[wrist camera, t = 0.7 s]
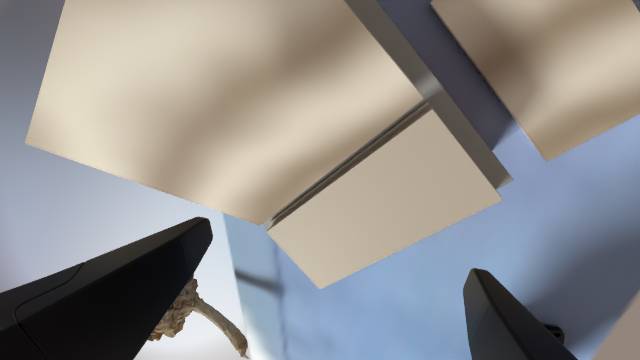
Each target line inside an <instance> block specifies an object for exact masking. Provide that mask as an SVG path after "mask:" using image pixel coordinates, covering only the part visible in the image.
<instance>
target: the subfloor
mask: <svg viewBox="0 0 640 360" xmlns="http://www.w3.org/2000/svg"><path fill="white" fill-rule="evenodd" d="M345 1H346V2H347V4H348V5H349V6H350V7H351V8H352V10H353V11H354V12H355V13H356V15H357V16H358V17H359V18H360V19H361V21H362V22H363V23H364V24H365V26H366V27H367V28H368V29H369V30H370V32H371V33H372V34H373V35H374V37H375V38H376V39H377V40H378V41H379V43H380V44H381V45H382V46H383V47H384V49H385V50H386V51H387V52H388V54H389V55H390V56H391V57H392V58H393V60H394V61H395V62H396V63H397V65H398V66H399V67H400V68H401V69H402V71H403V72H404V73H405V74H406V76H407V77H408V78H409V79H410V80H411V82H412V83H413V84H414V85H415V87H416V88H417V89H418V91H419V92H420V94H421V95H422V96H423V98H424V99H423V100H421V101H420V102H419V103H418V104H416V105H415V106H414V107H412V108H411V109H410V110H408V111H407V112H406V113H405V114H403V115H402V116H401V117H399V118H398V119H397V120H396V121H394V122H393V123H392V124H390V125H389V126H388V127H387V128H385V129H384V130H383V131H381V132H380V133H379V134H377V135H376V136H375V137H374V138H372V139H371V140H370V141H368V142H367V143H366V144H365V145H363V146H362V147H361V148H359V149H358V150H357V151H355V152H354V153H353V154H352V155H350V156H349V157H348V158H346V159H345V160H344V161H343V162H341V163H340V164H339V165H337V166H336V167H335V168H334V169H332V170H331V171H330V172H328V173H327V174H326V175H324V176H323V177H322V178H321V179H319V180H318V181H317V182H315V183H314V184H313V185H312V186H310V187H309V188H308V189H306V190H305V191H304V192H303V193H301V194H300V195H299V196H297V197H296V198H295V199H293V200H292V201H291V202H290V203H288V204H287V205H286V206H284V207H283V208H282V209H281V210H279V211H278V212H277V213H275V214H274V215H273V216H271V217H270V218H269V219H268V220H266V221H265V222H264V223H262V224H263V225H264V226H265V227H266V228H267V229H268V231H267V233H268V234H269V235H270V236H271V237H272V238H273V239H274V240H275V242H276V243H277V244H278V245H279V246H280V247H281V248H282V249H283V250H284V251H285V252H286V253H287V255H288V256H289V257H290V258H291V259H292V260H293V261H294V262H295V263H296V264H297V265H298V266H299V268H300V269H301V270H302V271H303V272H304V273H305V274H306V275H307V276H308V277H309V278H310V279H311V281H312V282H313V283H314V284H315V285H316V286H317V287H318V288H319V289H322V288H324V287H326V286H328V285H330V284H332V283H334V282H336V281H338V280H340V279H342V278H344V277H347V276H349V275H351V274H353V273H355V272H357V271H359V270H361V269H363V268H365V267H367V266H369V265H371V264H373V263H375V262H377V261H379V260H381V259H383V258H385V257H387V256H389V255H391V254H393V253H395V252H397V251H399V250H402V249H404V248H406V247H408V246H410V245H412V244H414V243H416V242H418V241H420V240H422V239H424V238H426V237H428V236H430V235H432V234H434V233H436V232H438V231H440V230H442V229H444V228H446V227H448V226H450V225H452V224H455V223H457V222H459V221H461V220H463V219H465V218H467V217H469V216H471V215H473V214H475V213H477V212H479V211H481V210H483V209H485V208H487V207H489V206H491V205H493V204H495V203H497V202H499V201H501V200H503V199H502V198H501V196H500V195H499V193H498V192H497V190H496V189H498V188H500V187H502V186H504V185H506V184H508V183H510V182H512V181H514V180H513V178H512V177H511V176H510V174H509V173H508V172H507V170H506V169H505V168H504V166H503V165H502V164H501V163H500V161H499V160H498V159H497V157H496V156H495V155H494V153H493V152H492V151H491V149H490V148H489V147H488V146H487V144H486V143H485V142H484V140H483V139H482V138H481V136H480V135H479V134H478V132H477V131H476V130H475V128H474V127H473V126H472V125H471V123H470V122H469V121H468V119H467V118H466V117H465V115H464V114H463V113H462V111H461V110H460V109H459V108H458V106H457V105H456V104H455V102H454V101H453V100H452V98H451V97H450V96H449V94H448V93H447V92H446V91H445V89H444V88H443V87H442V85H441V84H440V83H439V81H438V80H437V79H436V77H435V76H434V75H433V74H432V72H431V71H430V70H429V68H428V67H427V66H426V64H425V63H424V62H423V60H422V59H421V58H420V57H419V55H418V54H417V53H416V51H415V50H414V49H413V47H412V46H411V45H410V43H409V42H408V41H407V39H406V38H405V37H404V36H403V34H402V33H401V32H400V30H399V29H398V28H397V26H396V25H395V24H394V22H393V21H392V20H391V19H390V17H389V16H388V15H387V13H386V12H385V11H384V9H383V8H382V7H381V5H380V4H379V3H378V2H377V0H345Z"/></svg>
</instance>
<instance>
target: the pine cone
mask: <svg viewBox="0 0 640 360" xmlns="http://www.w3.org/2000/svg"><path fill="white" fill-rule="evenodd" d="M193 276H194V274H193V275H192V277H191V278H190V280H189V281H188V283H187V284H186V286H185V287H184V288H183V290H182V291H181V293H180V294H179V296H178V297H177V298H176V300H175V301H174V303H173V304H172V306H171V307H170V308H169V310H168V311H167V313H166V314H165V315H164V317H163V318H162V320H161V321H160V323H159V324H158V325H157V327H156V328H155V330H154V331H153V332H152V334H151V335H150V337H149V338H148V340H150V341H153V340H154V339H156V340H157V341H158V340H160V338H161V336H162V334H165V335H166V336H168V337H172V338H173V337H174V336H175V335H176V334H177V333H178V332H180V331H181V330H182V328H183V324H184V323H185V317H187V316H188V315H190V313H191V312H192V311H195V312H197V313H200V314H202V315H204V316H205V317H206V318H208V319H209V320H210V321H212V322H213V323H214V324H215V325H216V326H218V327H219V328H220V329H221V330H222V331H223V332H224V334H225V335H226V336H227V337H228V338H229V340H230V341H231V343H232V344H233V346H234V347H235V348H236V350H238V351H239V353H240V356H241V357H245V358H247V359H248V357H247V356H246V355H245V353H246V349H247V348H248V344H247V340H246V338H245V336H244V335H243V334H242V333H241V332H240V330H239V329H238V328H236V326H235V325H234V324H233V323H232V322H230V321H229V320H228V319H227V318H225V317H224V316H223V315H222V314H221V313H220V312H219V311H217V310H215V309H214V308H213V307H212V306H210V305H209V304H207V303H205V302H204V301H203V299H200V298H199V296H198V293H197V292H196V288H197V287H198V285H197V280H196V279H193Z"/></svg>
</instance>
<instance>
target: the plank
mask: <svg viewBox="0 0 640 360" xmlns="http://www.w3.org/2000/svg"><path fill="white" fill-rule="evenodd" d="M430 6H431V7H432V9H433V10H434V11H435V13H436V14H437V15H438V17H439V18H440V19H441V21H442V22H443V23H444V25H445V26H446V28H447V29H448V30H449V32H450V33H451V34H452V36H453V37H454V38H455V40H456V41H457V42H458V44H459V45H460V46H461V48H462V49H463V51H464V52H465V53H466V55H467V56H468V57H469V59H470V60H471V61H472V63H473V64H474V65H475V67H476V68H477V70H478V71H479V72H480V74H481V75H482V76H483V78H484V79H485V80H486V82H487V83H488V84H489V86H490V87H491V88H492V90H493V91H494V93H495V94H496V95H497V97H498V98H499V99H500V101H501V102H502V103H503V105H504V106H505V107H506V109H507V110H508V112H509V113H510V114H511V116H512V117H513V118H514V120H515V121H516V122H517V124H518V125H519V126H520V128H521V129H522V131H523V132H524V133H525V135H526V136H527V137H528V139H529V140H530V141H531V143H532V144H533V145H534V147H535V148H536V149H537V151H538V152H539V154H540V155H541V156H542V158H543V159H545V160H546V161H549V160H551V159H553V158H555V157H557V156H559V155H561V154H563V153H565V152H567V151H569V150H571V149H572V148H574V147H576V146H578V145H580V144H582V143H584V142H586V141H588V140H590V139H592V138H594V137H596V136H598V135H600V134H601V133H603V132H605V131H607V130H609V129H611V128H613V127H615V126H617V125H619V124H621V123H623V122H625V121H627V120H629V119H630V118H632V117H634V116H636V115H638V114H640V12H639V11H638V9H637V7H636V6H635V4H634V3H633V1H632V0H432V1H431V2H430Z"/></svg>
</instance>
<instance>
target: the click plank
mask: <svg viewBox="0 0 640 360" xmlns="http://www.w3.org/2000/svg"><path fill="white" fill-rule="evenodd" d="M423 99H424V98H423V96H422V95H421V94H420V92H419V91H418V89H417V88H416V87H415V85H414V84H413V83H412V82H411V80H410V79H409V78H408V77H407V76H406V74H405V73H404V72H403V71H402V69H401V68H400V67H399V66H398V65H397V63H396V62H395V61H394V60H393V58H392V57H391V56H390V55H389V54H388V52H387V51H386V50H385V49H384V47H383V46H382V45H381V44H380V43H379V41H378V40H377V39H376V38H375V37H374V35H373V34H372V33H371V32H370V30H369V29H368V28H367V27H366V26H365V24H364V23H363V22H362V21H361V19H360V18H359V17H358V16H357V15H356V13H355V12H354V11H353V10H352V8H351V7H350V6H349V5H348V4H347V2H346V1H345V0H66V1H65V4H64V7H63V11H62V15H61V18H60V22H59V25H58V29H57V32H56V36H55V39H54V43H53V47H52V50H51V54H50V57H49V61H48V64H47V68H46V71H45V75H44V78H43V82H42V85H41V89H40V92H39V96H38V100H37V103H36V107H35V110H34V114H33V117H32V121H31V124H30V128H29V131H28V135H27V138H26V143H25V144H28V145H31V146H34V147H37V148H39V149H42V150H45V151H48V152H51V153H54V154H57V155H60V156H62V157H65V158H68V159H71V160H74V161H77V162H79V163H82V164H85V165H88V166H91V167H94V168H97V169H100V170H102V171H105V172H108V173H111V174H114V175H117V176H120V177H122V178H125V179H128V180H131V181H134V182H137V183H140V184H142V185H146V186H148V187H151V188H154V189H157V190H160V191H162V192H165V193H168V194H171V195H174V196H177V197H180V198H182V199H185V200H188V201H191V202H194V203H197V204H200V205H203V206H206V207H208V208H211V209H214V210H217V211H220V212H223V213H225V214H228V215H231V216H234V217H237V218H240V219H243V220H245V221H248V222H251V223H254V224H257V225H261V224H262V223H264V222H265V221H266V220H268V219H269V218H270V217H271V216H273V215H274V214H275V213H277V212H278V211H279V210H281V209H282V208H283V207H284V206H286V205H287V204H288V203H290V202H291V201H292V200H293V199H295V198H296V197H297V196H299V195H300V194H301V193H303V192H304V191H305V190H306V189H308V188H309V187H310V186H312V185H313V184H314V183H315V182H317V181H318V180H319V179H321V178H322V177H323V176H324V175H326V174H327V173H328V172H330V171H331V170H332V169H334V168H335V167H336V166H337V165H339V164H340V163H341V162H343V161H344V160H345V159H346V158H348V157H349V156H350V155H352V154H353V153H354V152H355V151H357V150H358V149H359V148H361V147H362V146H363V145H365V144H366V143H367V142H368V141H370V140H371V139H372V138H374V137H375V136H376V135H377V134H379V133H380V132H381V131H383V130H384V129H385V128H387V127H388V126H389V125H390V124H392V123H393V122H394V121H396V120H397V119H398V118H399V117H401V116H402V115H403V114H405V113H406V112H407V111H408V110H410V109H411V108H412V107H414V106H415V105H416V104H418V103H419V102H420V101H421V100H423Z"/></svg>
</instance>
